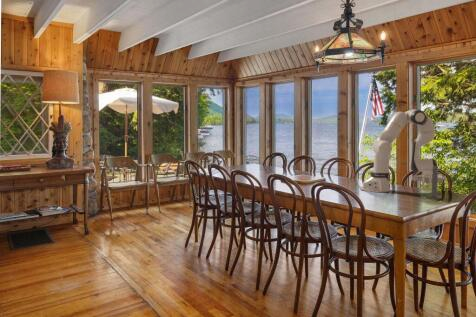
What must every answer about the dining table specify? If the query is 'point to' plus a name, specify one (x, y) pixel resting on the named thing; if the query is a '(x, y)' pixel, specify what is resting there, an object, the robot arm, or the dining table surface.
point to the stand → (434, 185)
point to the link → (424, 180)
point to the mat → (425, 194)
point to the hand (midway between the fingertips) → (426, 180)
